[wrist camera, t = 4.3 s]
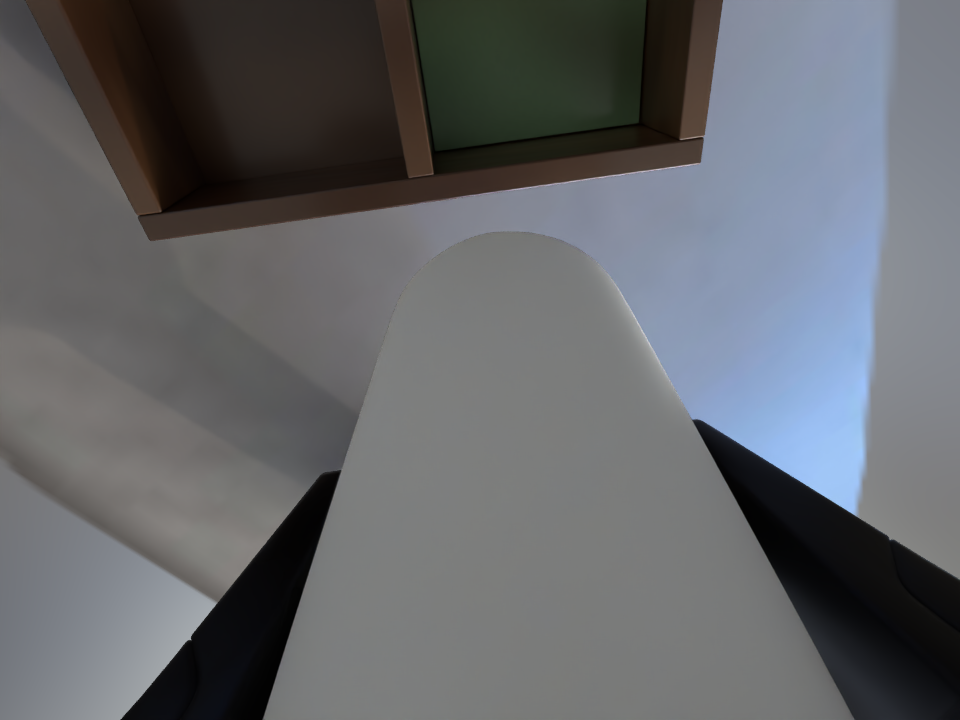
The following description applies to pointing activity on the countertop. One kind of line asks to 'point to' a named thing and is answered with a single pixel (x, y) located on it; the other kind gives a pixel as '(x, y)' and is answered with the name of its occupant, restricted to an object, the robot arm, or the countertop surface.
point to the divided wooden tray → (376, 99)
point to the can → (536, 524)
